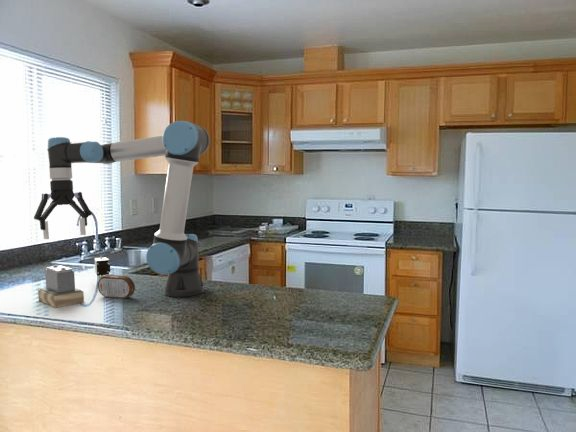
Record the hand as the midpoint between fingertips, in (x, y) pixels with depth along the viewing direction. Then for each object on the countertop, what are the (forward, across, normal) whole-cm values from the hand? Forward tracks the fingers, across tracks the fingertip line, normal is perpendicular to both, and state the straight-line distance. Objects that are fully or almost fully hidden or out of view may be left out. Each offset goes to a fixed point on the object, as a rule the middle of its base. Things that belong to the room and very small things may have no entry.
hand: (65, 236), depth 180 cm
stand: (+24, +4, +1) cm, 24 cm away
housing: (+19, +4, +1) cm, 19 cm away
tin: (+24, -12, +12) cm, 30 cm away
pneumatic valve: (+24, -21, -14) cm, 35 cm away
